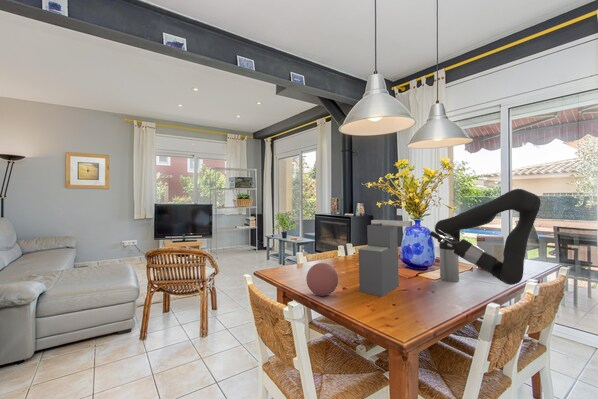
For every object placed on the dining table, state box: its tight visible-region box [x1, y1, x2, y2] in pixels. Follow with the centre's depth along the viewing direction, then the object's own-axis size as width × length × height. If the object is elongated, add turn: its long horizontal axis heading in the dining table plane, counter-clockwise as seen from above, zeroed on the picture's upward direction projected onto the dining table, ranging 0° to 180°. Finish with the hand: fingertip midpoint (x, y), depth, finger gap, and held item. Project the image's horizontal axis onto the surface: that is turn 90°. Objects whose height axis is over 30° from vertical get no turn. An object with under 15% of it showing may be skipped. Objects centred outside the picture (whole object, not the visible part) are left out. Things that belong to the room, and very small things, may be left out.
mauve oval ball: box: [305, 262, 339, 297], centre depth 139 cm, size 15×20×15 cm
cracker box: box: [476, 234, 505, 271], centre depth 175 cm, size 14×6×21 cm, turn 58°
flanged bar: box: [370, 219, 413, 228], centre depth 145 cm, size 6×21×2 cm, turn 49°
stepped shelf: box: [357, 224, 400, 298], centre depth 144 cm, size 20×12×32 cm, turn 140°
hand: (433, 231), depth 132 cm, fingers open, 8 cm apart
